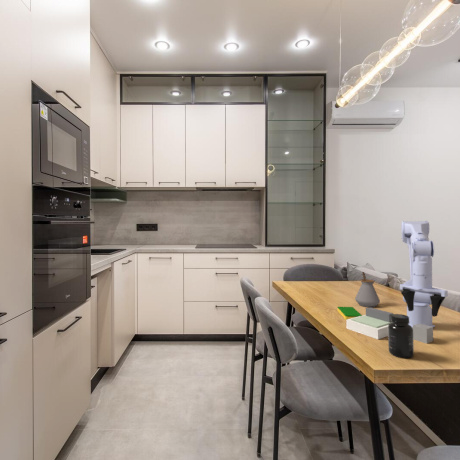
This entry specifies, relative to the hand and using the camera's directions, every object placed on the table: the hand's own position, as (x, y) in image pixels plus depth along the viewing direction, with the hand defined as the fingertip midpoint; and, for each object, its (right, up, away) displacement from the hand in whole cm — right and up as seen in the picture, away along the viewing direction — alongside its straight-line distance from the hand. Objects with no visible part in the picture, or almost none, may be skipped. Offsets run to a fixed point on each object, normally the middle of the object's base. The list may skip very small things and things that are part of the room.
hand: (422, 313), depth 100 cm
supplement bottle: (-14, -10, -11) cm, 20 cm away
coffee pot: (+4, -9, +50) cm, 51 cm away
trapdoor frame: (-13, -10, +10) cm, 19 cm away
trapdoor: (-13, -6, +10) cm, 17 cm away
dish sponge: (-14, -10, +29) cm, 34 cm away
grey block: (0, -10, 0) cm, 10 cm away
